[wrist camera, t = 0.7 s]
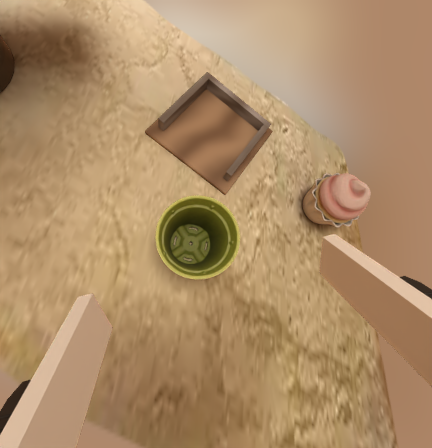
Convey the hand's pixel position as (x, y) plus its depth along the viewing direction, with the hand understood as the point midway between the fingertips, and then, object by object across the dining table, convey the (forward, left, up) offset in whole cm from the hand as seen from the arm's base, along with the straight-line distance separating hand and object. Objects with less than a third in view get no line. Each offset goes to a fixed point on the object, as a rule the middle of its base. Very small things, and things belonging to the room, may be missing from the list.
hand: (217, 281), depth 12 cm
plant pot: (-3, +3, -19) cm, 20 cm away
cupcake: (+4, +26, -19) cm, 32 cm away
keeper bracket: (-17, +17, -19) cm, 31 cm away
